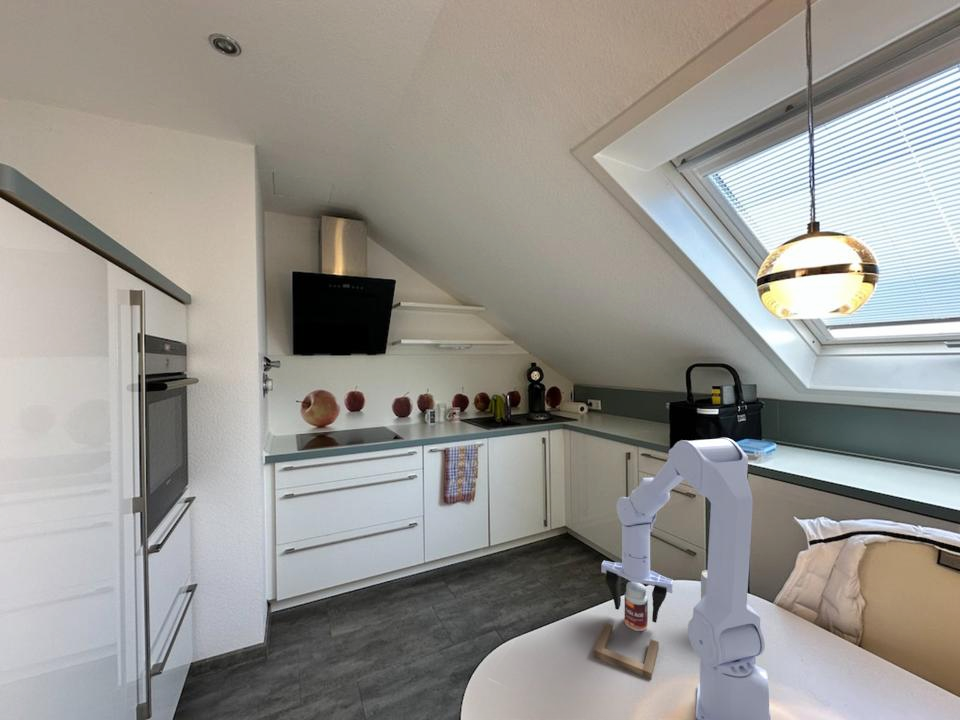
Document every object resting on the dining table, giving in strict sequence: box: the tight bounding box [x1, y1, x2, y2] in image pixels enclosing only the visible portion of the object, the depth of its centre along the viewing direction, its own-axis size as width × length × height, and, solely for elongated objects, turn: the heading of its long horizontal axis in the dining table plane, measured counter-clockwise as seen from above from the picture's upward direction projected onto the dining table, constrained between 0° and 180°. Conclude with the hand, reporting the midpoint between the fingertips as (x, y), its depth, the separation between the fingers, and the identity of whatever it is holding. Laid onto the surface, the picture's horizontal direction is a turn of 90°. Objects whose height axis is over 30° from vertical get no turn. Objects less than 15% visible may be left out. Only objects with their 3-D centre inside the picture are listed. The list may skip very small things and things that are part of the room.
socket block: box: [592, 622, 660, 680], centre depth 76 cm, size 10×9×2 cm
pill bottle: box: [624, 581, 649, 632], centre depth 84 cm, size 5×5×8 cm
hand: (635, 613), depth 84 cm, fingers open, 7 cm apart
